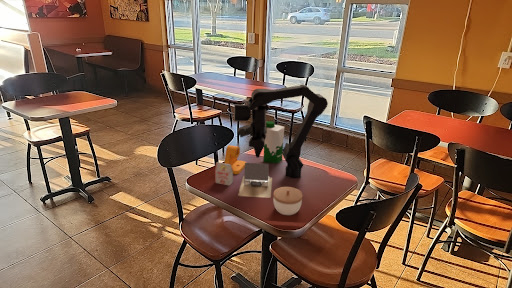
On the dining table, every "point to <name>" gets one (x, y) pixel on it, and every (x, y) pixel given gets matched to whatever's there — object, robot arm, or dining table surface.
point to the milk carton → (273, 143)
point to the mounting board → (255, 190)
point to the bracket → (234, 159)
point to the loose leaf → (256, 173)
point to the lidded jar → (287, 200)
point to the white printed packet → (223, 173)
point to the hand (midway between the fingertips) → (258, 154)
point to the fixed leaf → (264, 183)
